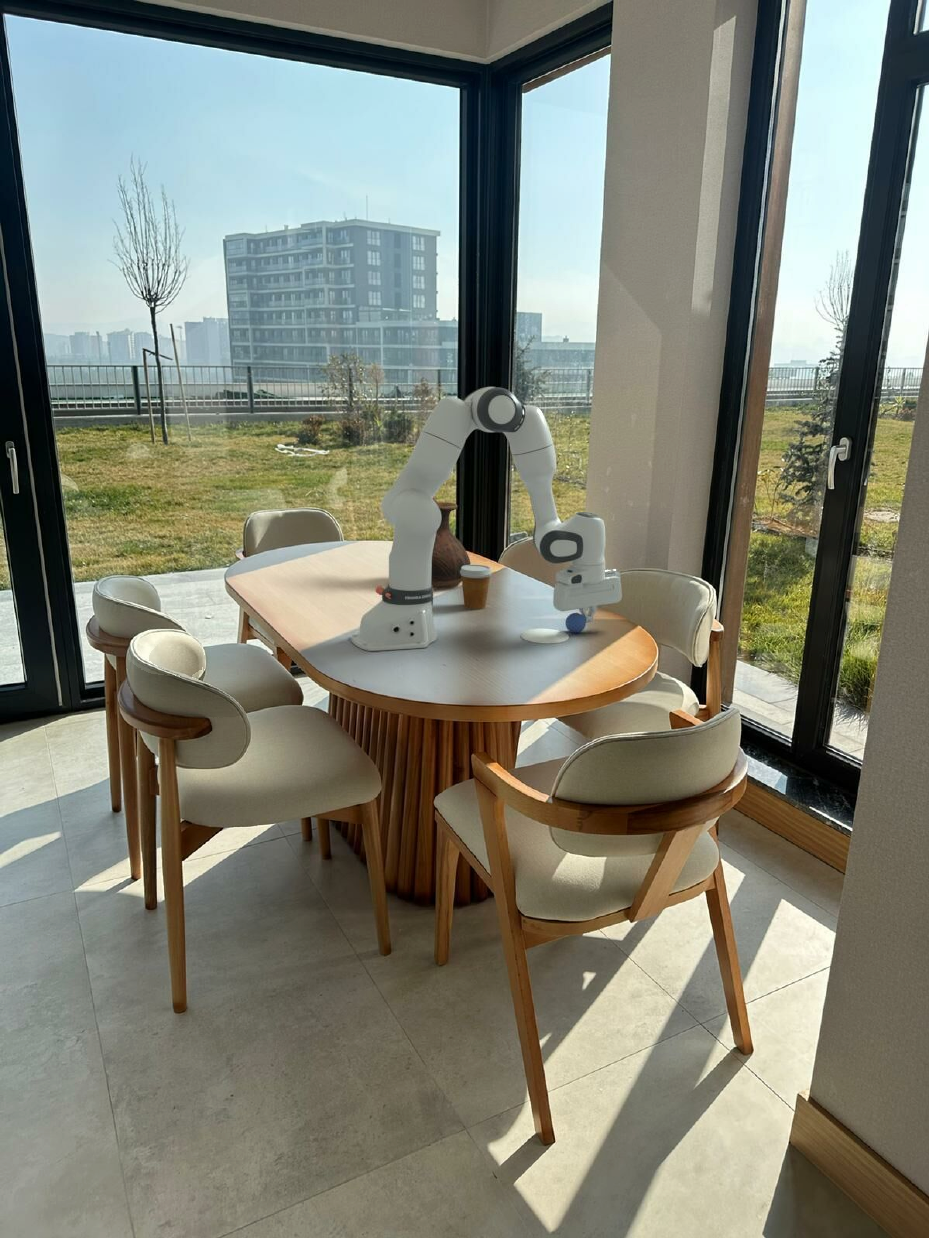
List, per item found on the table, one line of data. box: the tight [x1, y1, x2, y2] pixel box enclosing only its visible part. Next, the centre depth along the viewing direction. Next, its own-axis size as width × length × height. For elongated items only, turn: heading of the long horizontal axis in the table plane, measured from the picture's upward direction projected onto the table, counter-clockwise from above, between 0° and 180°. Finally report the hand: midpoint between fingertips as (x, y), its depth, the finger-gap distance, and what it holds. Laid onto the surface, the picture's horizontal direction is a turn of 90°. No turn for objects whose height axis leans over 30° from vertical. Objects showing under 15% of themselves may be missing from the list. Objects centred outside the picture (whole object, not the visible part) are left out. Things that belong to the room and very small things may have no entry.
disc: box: [520, 628, 570, 645], centre depth 233 cm, size 13×13×1 cm
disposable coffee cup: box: [460, 564, 493, 610], centre depth 259 cm, size 10×10×12 cm
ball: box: [565, 612, 587, 634], centre depth 236 cm, size 6×6×6 cm
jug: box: [431, 496, 472, 590], centre depth 283 cm, size 22×22×30 cm
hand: (587, 621), depth 238 cm, fingers closed
